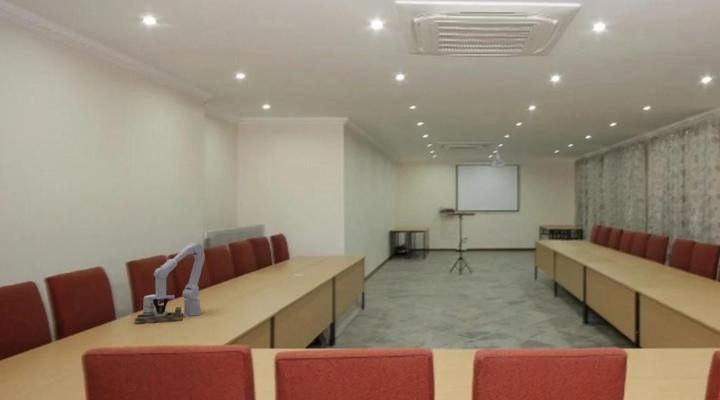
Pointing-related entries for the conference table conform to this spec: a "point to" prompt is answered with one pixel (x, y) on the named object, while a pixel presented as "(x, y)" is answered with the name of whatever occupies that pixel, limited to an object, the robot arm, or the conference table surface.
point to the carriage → (161, 311)
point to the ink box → (149, 306)
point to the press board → (160, 317)
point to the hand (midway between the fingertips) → (160, 311)
